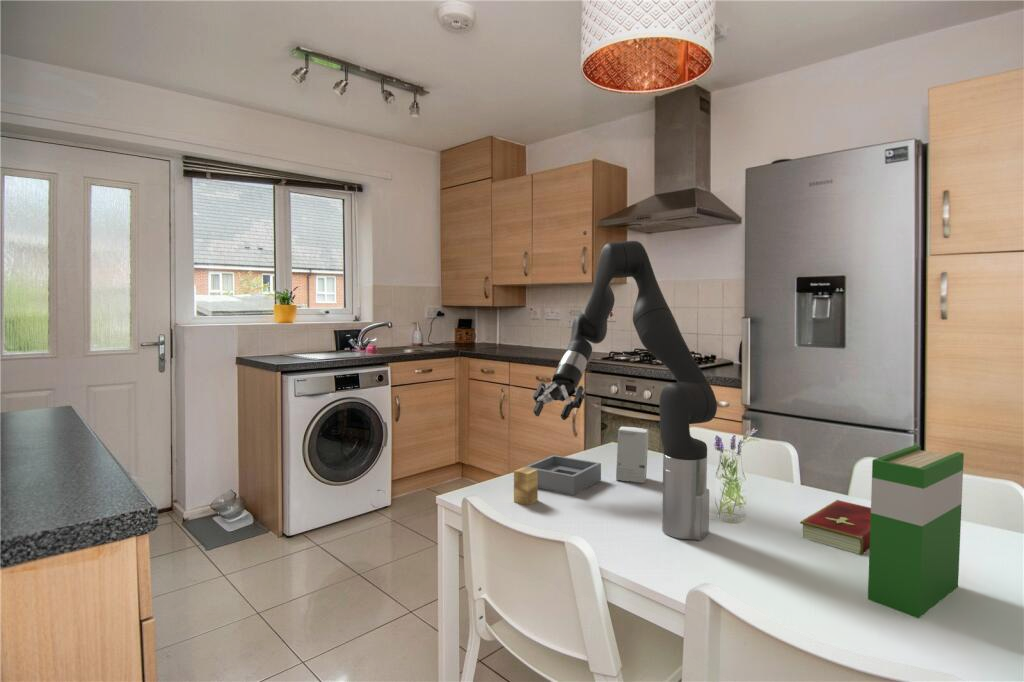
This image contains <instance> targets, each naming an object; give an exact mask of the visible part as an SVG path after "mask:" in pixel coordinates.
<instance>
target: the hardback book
mask: <svg viewBox="0 0 1024 682" xmlns="http://www.w3.org/2000/svg"><path fill="white" fill-rule="evenodd" d="M964 456H965V453H964V452H958V451H957V452H954V453H952V454H945V453H938V452H933V451H928V450H921V445H917V444H914V445H911V446H908V447H904V448H902V449H900V450H899V449H898V450H897V451H894V452H891V453H887V454H885V455H882V456H880V457H877V458H873V459H872V465H871V466H872V467H871V468H872V469H871V493H870V495H871V496H870V497H871V498H870V500H871V501H870V508H871V520H870V548H869V549H868V551H869V554H868V555H869V556H868V584H867V585H868V586H867V600H868V601H871V602H872V603H873V602H874V603H877V604H879V605H882V606H885V607H887V608H890V609H892V610H895V611H898V612H899V613H900V612H901V613H903V614H906V615H907V616H908V615H909V616H910V617H912V618H915V619H920V618H922V617H923V616H924V615H925V614H926V613H928V612H929V611H930V610H932V608H934V607H935V606H936V605H938V604H939V603H940V602H941V601H942V600H944V599H945V598H946V597H947V596H949V594H951V593H953V591H954V590H956V589H958V587H959V575H960V573H959V572H960V571H959V570H960V550H961V549H960V548H961V547H960V546H961V530H962V529H961V527H962V525H961V524H962V502H963V500H962V499H963V478H964V477H963V476H964V460H965V459H964Z"/></svg>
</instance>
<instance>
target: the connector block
mask: <svg viewBox="0 0 1024 682" xmlns="http://www.w3.org/2000/svg"><path fill="white" fill-rule="evenodd" d="M538 489H539V488H538V470H536V469H530V468H525V466H524V467H521V468H518V469H515V470H513V503H517V504H522V505H525V506H530V505H531V504H533V502H534V503H536V502H538V497H539V495H538V493H539V492H538V491H539V490H538Z"/></svg>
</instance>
